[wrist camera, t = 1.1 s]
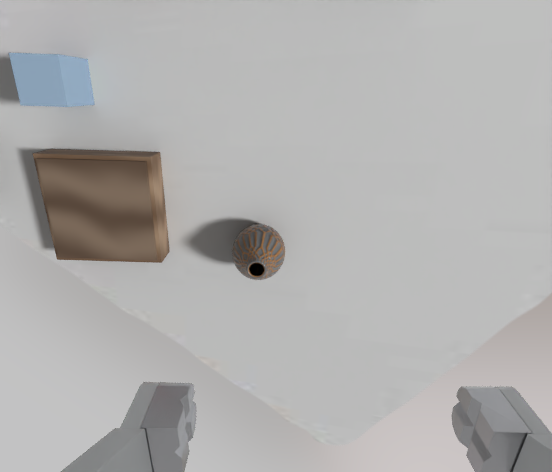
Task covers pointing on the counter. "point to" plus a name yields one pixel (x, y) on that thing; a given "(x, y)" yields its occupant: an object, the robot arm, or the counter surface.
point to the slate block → (52, 80)
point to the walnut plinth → (104, 204)
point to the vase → (258, 252)
